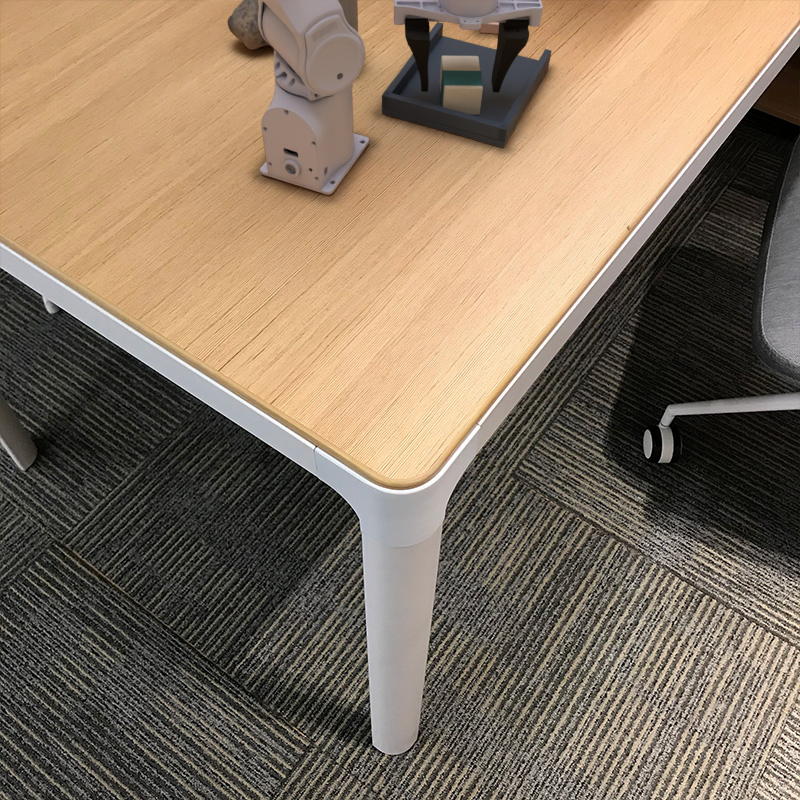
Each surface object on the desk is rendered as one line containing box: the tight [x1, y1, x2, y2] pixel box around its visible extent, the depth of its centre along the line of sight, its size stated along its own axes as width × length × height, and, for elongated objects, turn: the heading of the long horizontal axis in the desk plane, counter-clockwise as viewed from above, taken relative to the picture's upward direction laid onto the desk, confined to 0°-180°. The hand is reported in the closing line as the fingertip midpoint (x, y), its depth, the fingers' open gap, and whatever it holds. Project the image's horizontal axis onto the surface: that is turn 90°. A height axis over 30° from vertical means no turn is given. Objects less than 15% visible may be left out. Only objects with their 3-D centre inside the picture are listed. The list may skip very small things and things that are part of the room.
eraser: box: [440, 56, 483, 115], centre depth 82 cm, size 4×6×3 cm
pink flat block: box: [479, 22, 499, 35], centre depth 93 cm, size 4×4×1 cm
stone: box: [227, 0, 270, 51], centre depth 88 cm, size 10×6×8 cm
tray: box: [381, 22, 552, 149], centre depth 85 cm, size 16×14×2 cm
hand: (459, 86), depth 82 cm, fingers open, 7 cm apart
